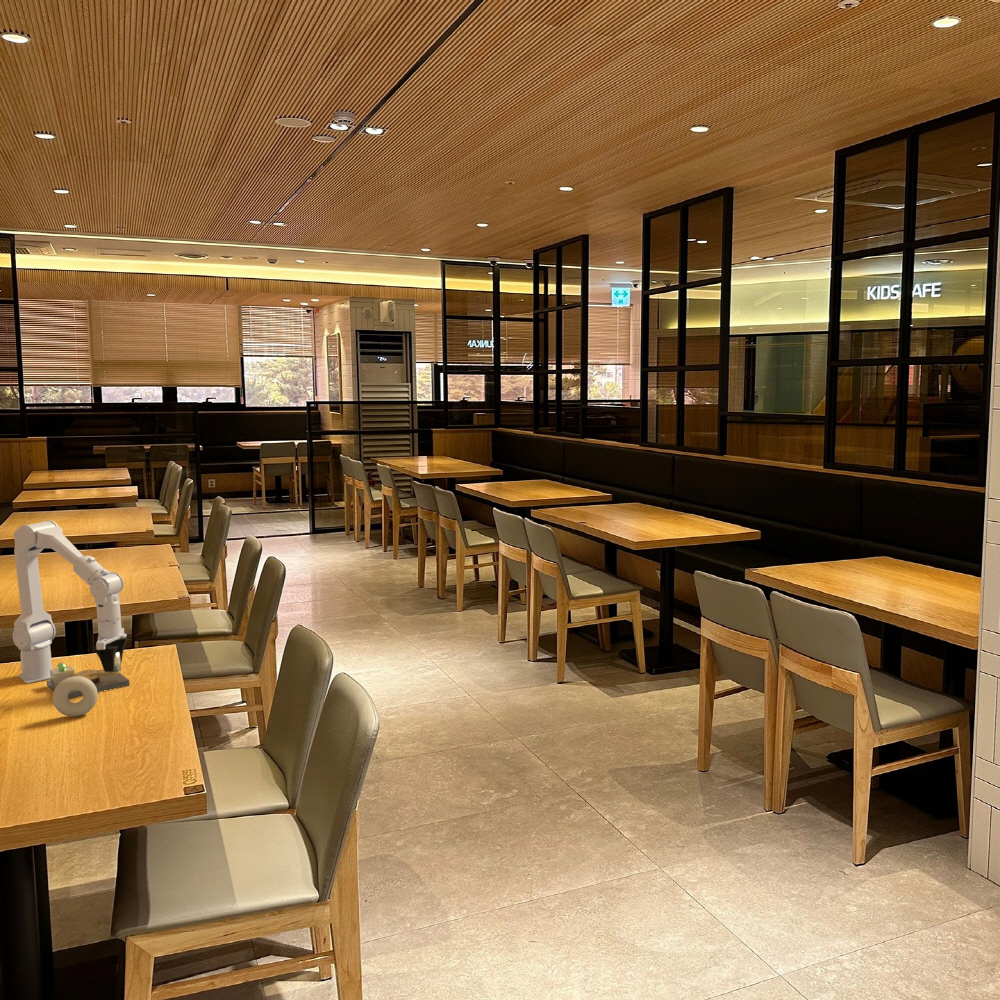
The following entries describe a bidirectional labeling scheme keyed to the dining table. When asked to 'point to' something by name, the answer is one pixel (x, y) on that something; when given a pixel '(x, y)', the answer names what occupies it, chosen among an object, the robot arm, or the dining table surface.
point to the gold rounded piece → (95, 674)
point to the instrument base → (101, 685)
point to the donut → (80, 707)
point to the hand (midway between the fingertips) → (112, 668)
